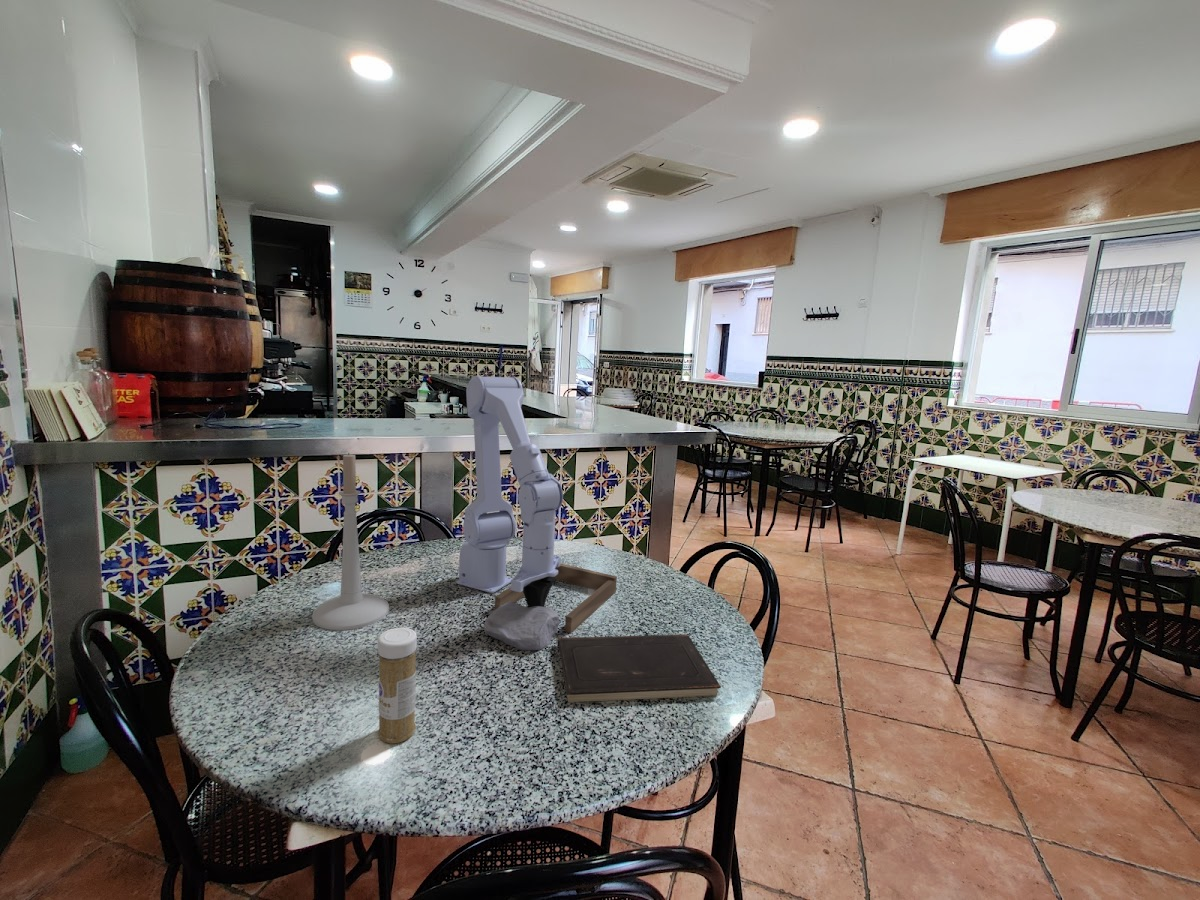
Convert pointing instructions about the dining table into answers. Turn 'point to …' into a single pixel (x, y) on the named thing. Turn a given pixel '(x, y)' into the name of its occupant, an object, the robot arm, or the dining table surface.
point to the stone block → (522, 625)
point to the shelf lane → (577, 576)
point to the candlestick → (350, 571)
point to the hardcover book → (634, 668)
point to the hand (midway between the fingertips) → (535, 614)
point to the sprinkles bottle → (397, 684)
